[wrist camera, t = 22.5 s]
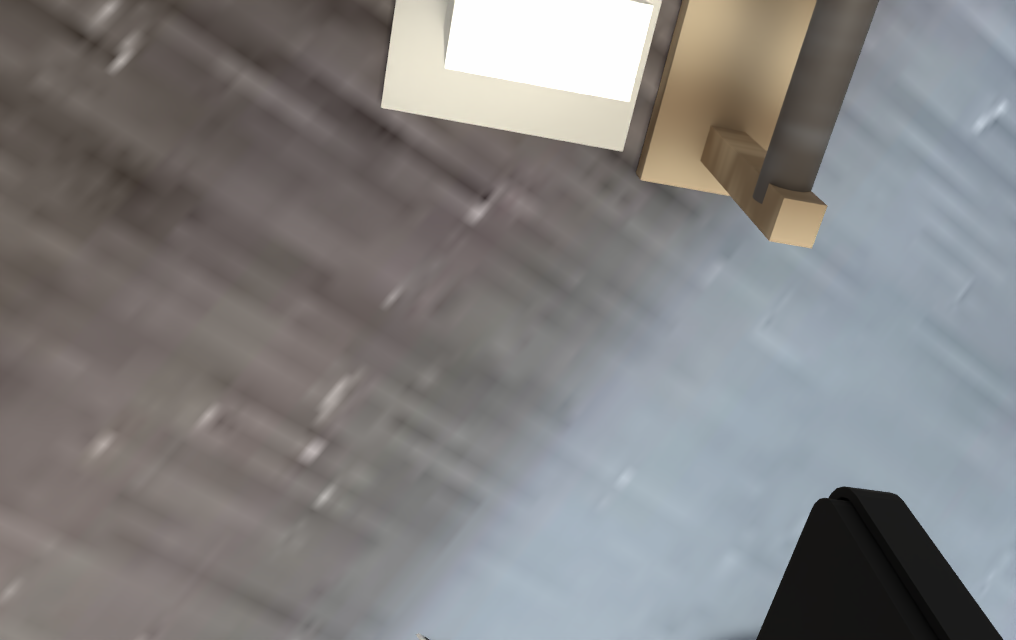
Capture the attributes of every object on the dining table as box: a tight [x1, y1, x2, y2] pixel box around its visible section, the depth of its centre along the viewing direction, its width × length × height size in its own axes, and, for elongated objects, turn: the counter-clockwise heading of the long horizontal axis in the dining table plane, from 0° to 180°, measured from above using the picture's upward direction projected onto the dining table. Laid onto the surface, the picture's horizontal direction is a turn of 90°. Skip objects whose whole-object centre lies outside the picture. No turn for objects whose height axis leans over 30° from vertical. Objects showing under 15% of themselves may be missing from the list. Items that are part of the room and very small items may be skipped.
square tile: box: [381, 0, 662, 151], centre depth 36 cm, size 10×10×1 cm
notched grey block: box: [444, 0, 653, 102], centre depth 32 cm, size 6×3×8 cm, turn 79°
